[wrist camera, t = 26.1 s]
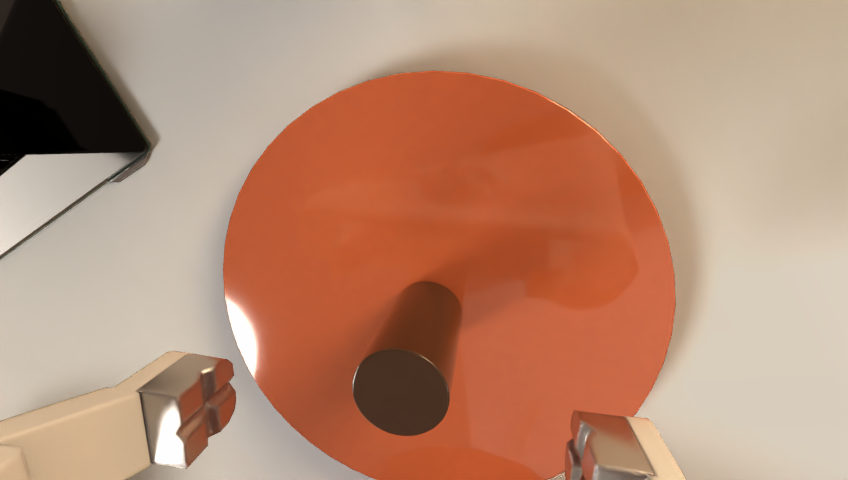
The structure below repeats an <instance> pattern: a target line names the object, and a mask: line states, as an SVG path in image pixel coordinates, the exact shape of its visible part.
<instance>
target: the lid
mask: <svg viewBox="0 0 848 480" xmlns="http://www.w3.org/2000/svg"><path fill="white" fill-rule="evenodd" d="M223 278H224V294H225V300H226V306H227V311H228V316H229V321H230V324H231V327H232V330H233V334H234V337H235V340H236V343H237V346H238V348H239V350H240V352H241V355H242V357H243V359H244V361H245V363H246V366H247V368H248V369H249V371H250V373H251V374H252V376H253V378H254V379H255V381H256V383H257V385H258V386H259V388H260V389H261V391H262V392H263V393H264V395H265V396H266V397H267V399H268V400H269V401H270V403H271V404H272V405H273V407H274V408H275V409H276V410H277V411H278V412H279V413H280V414H281V415H282V417H283V418H284V419H285V420H286V421H287V422H288V423H289V424H290V425H291V426H292V427H293V428H294V429H295V430H296V431H298V432H299V433H300V434H301V435H302V436H303V437H304V438H306V439H307V440H308V441H309V442H310V443H312V444H313V445H314V446H316V447H317V448H319V449H320V450H321V451H323V452H324V453H326V454H327V455H329V456H330V457H332V458H333V459H335V460H337V461H339V462H340V463H342V464H344V465H346V466H348V467H349V468H351V469H353V470H355V471H358V472H360V473H362V474H364V475H367V476H369V477H371V478H373V479H376V480H547V479H550V478H553V477H555V476H557V475H559V474H561V473H563V472H565V452H566V445H567V442H568V441H569V440H571V439H572V438H573V435H572V432H571V428H570V422H571V417H572V414H573V412H574V410H579V411H586V412H593V413H601V414H608V415H616V416H630V417H633V416H634V415H635V414H636V413H637V411H638V410H639V408H640V407H641V405H642V403H643V402H644V400H645V399H646V397H647V396H648V394H649V393H650V391H651V389H652V388H653V385H654V383H655V381H656V379H657V377H658V374H659V372H660V370H661V368H662V365H663V363H664V360H665V357H666V353H667V349H668V346H669V342H670V339H671V335H672V328H673V320H674V311H675V280H674V269H673V264H672V259H671V253H670V248H669V243H668V240H667V237H666V234H665V231H664V228H663V226H662V223H661V220H660V217H659V214H658V212H657V210H656V208H655V206H654V204H653V202H652V200H651V198H650V197H649V195H648V193H647V191H646V189H645V187H644V186H643V184H642V182H641V180H640V179H639V178H638V176H637V175H636V174H635V172H634V171H633V170H632V168H631V167H630V166H629V164H628V163H627V162H626V160H625V159H624V158H623V156H622V155H621V154H620V153H619V152H618V151H617V150H616V149H615V148H614V147H613V146H612V145H611V144H610V143H609V142H608V141H607V140H606V139H605V138H604V137H603V136H602V135H601V134H600V133H599V132H598V131H597V130H596V129H594V128H593V127H592V126H590V125H589V124H588V123H586V122H585V121H584V120H582V119H581V118H579V117H578V116H577V115H575V114H574V113H573V112H571V111H570V110H569V109H567V108H565V107H563V106H561V105H560V104H558V103H556V102H554V101H552V100H550V99H548V98H546V97H545V96H543V95H541V94H539V93H537V92H535V91H532V90H529V89H526V88H524V87H521V86H518V85H515V84H513V83H510V82H507V81H504V80H501V79H496V78H491V77H486V76H482V75H477V74H472V73H464V72H449V71H422V72H410V73H399V74H395V75H390V76H386V77H382V78H377V79H373V80H368V81H366V82H363V83H361V84H358V85H355V86H353V87H350V88H348V89H345V90H342V91H340V92H338V93H336V94H334V95H332V96H330V97H329V98H327V99H325V100H323V101H322V102H320V103H318V104H316V105H314V106H313V107H311V108H310V109H309V110H307V111H306V112H305V113H303V114H302V115H301V116H300V117H298V118H297V119H296V120H294V121H293V122H292V123H290V124H289V125H288V126H287V127H286V128H285V129H284V130H283V131H282V132H281V133H280V134H279V135H278V136H277V137H276V138H275V139H274V140H273V142H272V143H271V144H270V145H269V146H268V147H267V148H266V150H265V151H264V152H263V154H262V155H261V157H260V158H259V159H258V161H257V162H256V164H255V165H254V166H253V168H252V169H251V171H250V173H249V175H248V177H247V179H246V181H245V183H244V185H243V186H242V188H241V190H240V192H239V195H238V197H237V200H236V203H235V206H234V209H233V212H232V214H231V217H230V221H229V226H228V231H227V236H226V241H225V249H224V263H223Z"/></svg>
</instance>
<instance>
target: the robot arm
mask: <svg viewBox="0 0 848 480" xmlns="http://www.w3.org/2000/svg"><path fill="white" fill-rule="evenodd" d="M233 376H234V371H233V364H232V363H231V362H230V361H229V360H228V359H222V358H216V357H210V356H204V355H198V354H190V353H185V352H178V351H171V352H167V353H165V354H164V355H162V356H161V357H159V358H158V359H156V360H155V361H153V362H152V363H150V364H148V365H147V366H145V367H144V368H142V369H141V370H139V371H138V372H136V373H135V374H133V375H132V376H130V377H129V378H127V379H126V380H124V381H123V382H121V383H120V384H118V385H117V386H115V387H114V388H107V387H106V388H103V389H100V390H97V391H94V392H90V393H87V394H84V395H81V396H78V397H74V398H71V399H68V400H65V401H62V402H59V403H55V404H52V405H49V406H46V407H43V408H39V409H36V410H33V411H30V412H27V413H24V414H20V415H17V416H14V417H11V418H8V419H4V420H1V421H0V480H127V479H129V478H130V477H132V476H134V475H135V474H137V473H139V472H141V471H142V470H144V469H146V468H147V467H149V466H151V463H152V464H158V465H165V466H171V467H178V468H184V469H187V468H188V467H189V466H190V465H191V463H192V462H193V461H194V460H195V459H196V458H197V457H198V456H199V455H200V454H201V453H202V451H203V450H204V449H205V448H206V447H207V446H208V437H210V436H212V435H214V434H216V433H218V432H221V431H222V429H223V428H224V427H225V426H226V425H227V424H228V422H229V421H230V418H231V416H232V414H233V412H234V410H235V404H236V392H235V390H234V388H233V387H232V386H231V384H230V383H229V382H230V380H231V379H232V377H233ZM570 428H571V432H572V435H573V438H572V439H571V440H569V441H568V442H567V445H566V452H565V477H566V480H686V478H685V477H684V475H683V473H682V472H681V470H680V468H679V467H678V465H677V463H676V462H675V460H674V458H673V456H672V455H671V453H670V451H669V450H668V448H667V446H666V445H665V443H664V441H663V440H662V438H661V436H660V434H659V433H658V431H657V429H656V428H655V426H654V424H653V423H652V421H650V420H649V419H647V418H638V417H630V416H616V415H608V414H601V413H593V412H586V411H579V410H574V412H573V414H572V417H571V422H570Z"/></svg>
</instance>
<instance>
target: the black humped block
mask: <svg viewBox="0 0 848 480" xmlns="http://www.w3.org/2000/svg"><path fill="white" fill-rule="evenodd" d="M150 151H151V143H150V141H149V140H148V138H147V137H146V135H145V134H144V132H143V130H142V129H141V127H140V126H139V124H138V123H137V121H136V120H135V118H134V116H133V115H132V113H131V112H130V110H129V109H128V107H127V106H126V104H125V102H124V101H123V99H122V98H121V96H120V95H119V93H118V91H117V90H116V88H115V87H114V85H113V84H112V82H111V81H110V79H109V77H108V76H107V74H106V73H105V71H104V70H103V68H102V66H101V65H100V63H99V62H98V60H97V59H96V57H95V56H94V54H93V52H92V51H91V49H90V48H89V46H88V45H87V43H86V41H85V40H84V38H83V37H82V35H81V34H80V32H79V31H78V29H77V27H76V26H75V24H74V23H73V21H72V20H71V18H70V17H69V15H68V13H67V12H66V10H65V9H64V7H63V6H62V4H61V2H60V1H59V0H0V259H1V258H2V257H4V256H5V255H7V254H8V253H9V252H11V251H12V250H14V249H15V248H16V247H18V246H19V245H20V244H22V243H23V242H25V241H26V240H27V239H29V238H30V237H32V236H33V235H34V234H36V233H37V232H39V231H40V230H41V229H43V228H44V227H46V226H47V225H48V224H50V223H51V222H52V221H54V220H55V219H57V218H58V217H59V216H61V215H62V214H64V213H65V212H66V211H68V210H69V209H71V208H72V207H73V206H75V205H76V204H78V203H79V202H80V201H82V200H83V199H84V198H86V197H87V196H89V195H90V194H91V193H93V192H94V191H96V190H97V189H98V188H100V187H101V186H103V185H104V184H105V183H107V182H121V181H122V180H123V179H125V178H126V177H128V176H129V175H130V174H132V173H133V172H135V171H136V170H137V169H139V168H140V167H142V166H143V165H144V164H145V163H146V160H147V157H148V154H149V152H150Z"/></svg>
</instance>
